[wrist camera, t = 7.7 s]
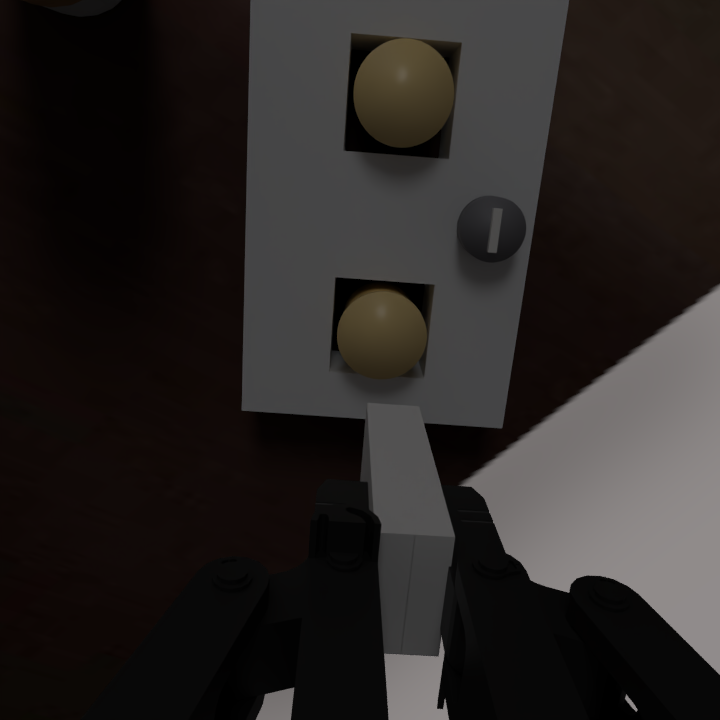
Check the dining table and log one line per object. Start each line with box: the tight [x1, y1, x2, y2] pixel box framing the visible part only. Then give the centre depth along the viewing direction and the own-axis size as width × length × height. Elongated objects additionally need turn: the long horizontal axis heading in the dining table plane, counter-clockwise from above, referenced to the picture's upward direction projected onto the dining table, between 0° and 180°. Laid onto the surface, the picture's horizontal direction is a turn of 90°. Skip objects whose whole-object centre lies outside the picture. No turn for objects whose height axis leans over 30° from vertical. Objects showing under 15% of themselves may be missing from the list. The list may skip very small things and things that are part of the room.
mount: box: [242, 0, 569, 428], centre depth 31 cm, size 14×21×6 cm, turn 176°
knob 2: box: [337, 282, 427, 379], centre depth 32 cm, size 4×4×4 cm
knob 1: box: [354, 38, 454, 148], centre depth 29 cm, size 4×4×4 cm
